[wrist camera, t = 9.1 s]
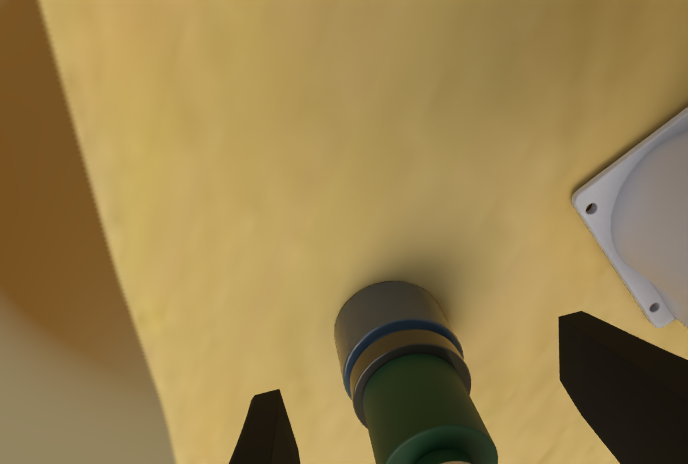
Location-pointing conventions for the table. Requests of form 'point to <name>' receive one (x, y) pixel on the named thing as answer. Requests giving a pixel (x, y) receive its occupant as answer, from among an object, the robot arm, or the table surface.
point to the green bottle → (424, 415)
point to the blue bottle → (391, 334)
